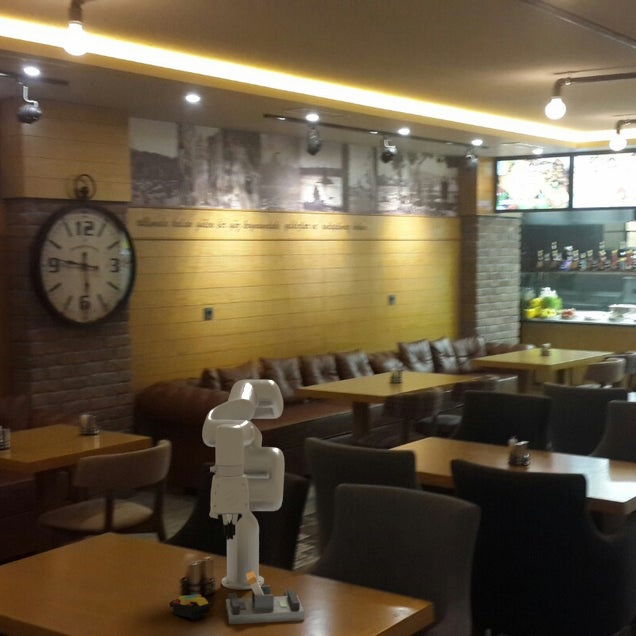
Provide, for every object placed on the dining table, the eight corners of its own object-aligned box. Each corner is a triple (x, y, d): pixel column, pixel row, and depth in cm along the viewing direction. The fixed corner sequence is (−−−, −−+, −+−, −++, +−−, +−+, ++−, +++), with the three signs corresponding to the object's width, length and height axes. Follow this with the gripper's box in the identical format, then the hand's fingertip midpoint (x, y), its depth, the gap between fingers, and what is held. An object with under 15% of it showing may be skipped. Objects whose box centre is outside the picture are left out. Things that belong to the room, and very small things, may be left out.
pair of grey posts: (228, 599, 272) (228, 585, 271) (290, 596, 275) (290, 581, 274) (233, 622, 254) (233, 606, 254) (299, 618, 257) (299, 602, 256)
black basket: (185, 611, 265) (183, 591, 265) (215, 616, 256) (213, 595, 256) (166, 617, 261) (164, 597, 261) (196, 622, 251) (194, 600, 252)
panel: (225, 607, 265) (225, 584, 265) (297, 604, 268) (297, 581, 268) (229, 624, 252) (229, 600, 252) (304, 620, 255) (304, 596, 255)
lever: (258, 602, 263) (245, 573, 262) (266, 598, 263) (253, 570, 262) (261, 609, 257) (247, 580, 256) (268, 605, 257) (255, 576, 256)
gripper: (202, 474, 252) (202, 543, 252) (259, 472, 255) (259, 540, 255) (200, 468, 259) (200, 536, 260) (255, 467, 262) (255, 533, 263)
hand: (229, 538), depth 258 cm, fingers closed
